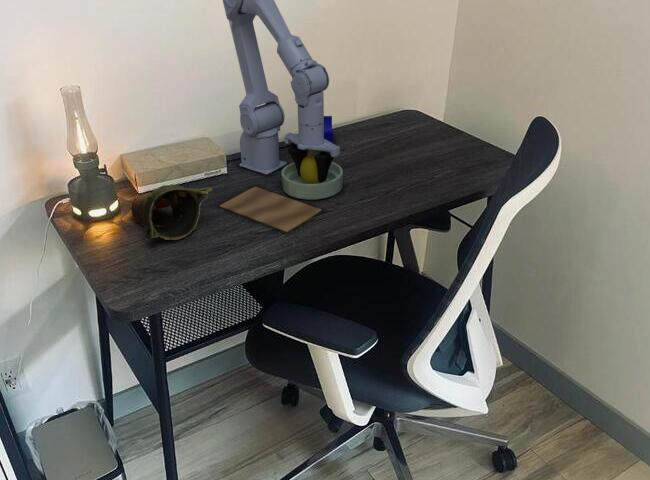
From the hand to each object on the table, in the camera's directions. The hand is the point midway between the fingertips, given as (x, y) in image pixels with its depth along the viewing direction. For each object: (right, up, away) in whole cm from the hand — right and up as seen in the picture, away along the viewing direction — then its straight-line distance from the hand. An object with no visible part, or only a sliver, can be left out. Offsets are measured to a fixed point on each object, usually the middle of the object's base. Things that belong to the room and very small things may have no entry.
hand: (312, 177), depth 156 cm
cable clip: (+4, +12, +22) cm, 25 cm away
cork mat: (-10, -8, -7) cm, 14 cm away
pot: (-30, -13, -13) cm, 36 cm away
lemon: (0, -2, +1) cm, 2 cm away
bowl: (0, -2, +1) cm, 2 cm away
